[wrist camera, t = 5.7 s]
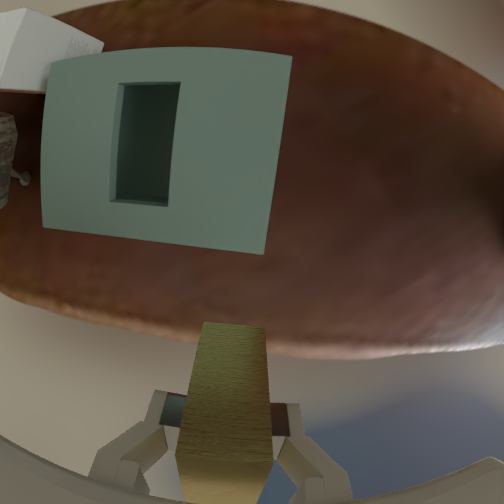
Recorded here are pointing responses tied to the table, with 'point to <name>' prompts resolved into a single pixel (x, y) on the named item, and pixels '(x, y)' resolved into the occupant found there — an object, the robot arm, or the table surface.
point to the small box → (37, 48)
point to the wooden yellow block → (226, 418)
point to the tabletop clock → (8, 156)
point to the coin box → (164, 145)
